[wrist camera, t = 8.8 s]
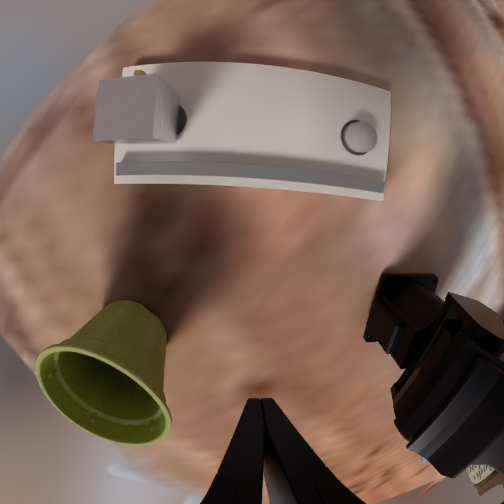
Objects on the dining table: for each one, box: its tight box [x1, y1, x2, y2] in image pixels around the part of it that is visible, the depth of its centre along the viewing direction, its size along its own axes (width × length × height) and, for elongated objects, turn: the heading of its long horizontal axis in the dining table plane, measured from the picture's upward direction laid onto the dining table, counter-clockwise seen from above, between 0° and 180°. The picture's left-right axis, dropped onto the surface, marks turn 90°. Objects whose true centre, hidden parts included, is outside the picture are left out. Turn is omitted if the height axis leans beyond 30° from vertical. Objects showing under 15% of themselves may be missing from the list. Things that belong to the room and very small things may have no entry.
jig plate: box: [114, 62, 391, 201], centre depth 15 cm, size 18×8×2 cm, turn 86°
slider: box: [93, 70, 180, 145], centre depth 12 cm, size 3×4×5 cm
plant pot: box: [36, 300, 172, 446], centre depth 17 cm, size 9×9×9 cm
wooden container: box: [465, 465, 504, 495], centre depth 28 cm, size 15×15×22 cm
